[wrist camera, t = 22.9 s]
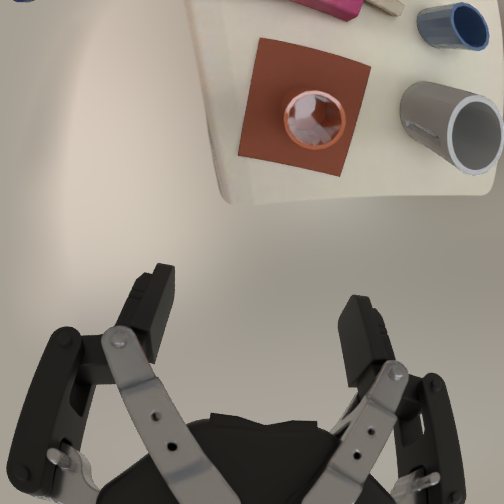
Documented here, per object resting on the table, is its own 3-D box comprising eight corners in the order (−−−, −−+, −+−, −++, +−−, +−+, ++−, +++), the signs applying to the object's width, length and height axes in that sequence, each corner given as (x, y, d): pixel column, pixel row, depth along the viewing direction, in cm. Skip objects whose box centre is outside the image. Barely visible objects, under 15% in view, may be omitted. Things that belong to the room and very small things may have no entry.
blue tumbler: (413, 36, 25) (447, 34, 18) (420, 1, 21) (453, -7, 14) (448, 55, 25) (485, 59, 18) (454, 21, 22) (491, 20, 15)
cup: (461, 116, 30) (513, 142, 21) (425, 155, 35) (471, 190, 25) (426, 69, 27) (480, 78, 18) (387, 110, 32) (432, 132, 22)
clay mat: (238, 154, 37) (237, 155, 37) (260, 37, 28) (260, 37, 27) (339, 175, 38) (339, 176, 38) (370, 66, 29) (371, 66, 28)
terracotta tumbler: (275, 125, 34) (278, 142, 27) (285, 80, 31) (291, 83, 24) (322, 136, 34) (336, 156, 28) (333, 92, 31) (352, 100, 24)
